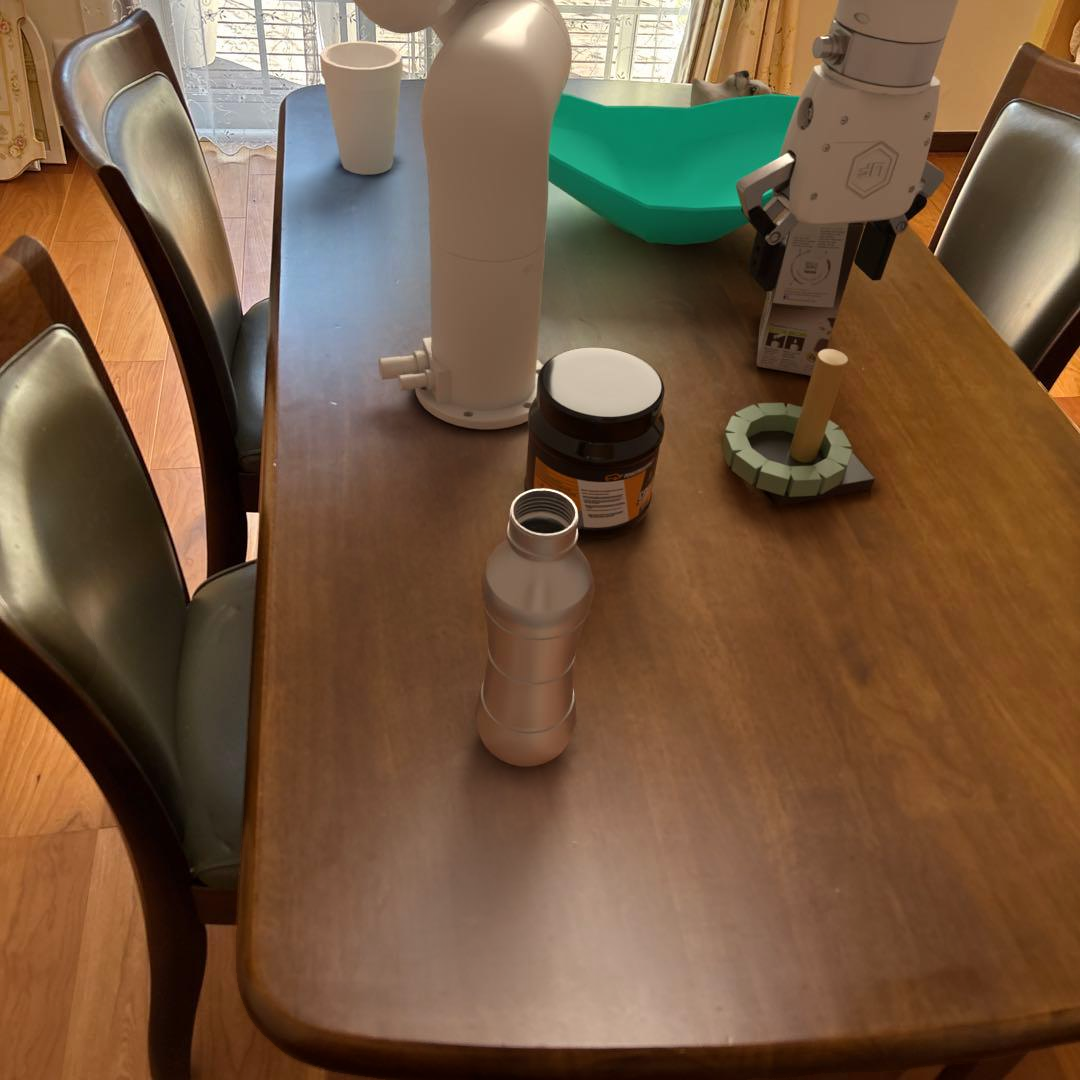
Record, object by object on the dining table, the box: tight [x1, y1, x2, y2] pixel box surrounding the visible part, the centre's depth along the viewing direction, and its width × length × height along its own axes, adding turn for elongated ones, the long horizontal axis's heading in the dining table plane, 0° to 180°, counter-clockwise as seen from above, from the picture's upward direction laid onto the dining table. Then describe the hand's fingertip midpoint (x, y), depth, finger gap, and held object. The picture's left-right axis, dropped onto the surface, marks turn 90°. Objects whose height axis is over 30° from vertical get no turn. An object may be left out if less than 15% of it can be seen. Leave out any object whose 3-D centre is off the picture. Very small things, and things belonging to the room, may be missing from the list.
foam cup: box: [319, 40, 404, 176], centre depth 124 cm, size 10×9×13 cm
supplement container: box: [523, 346, 666, 540], centre depth 80 cm, size 10×10×12 cm
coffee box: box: [756, 209, 866, 377], centre depth 98 cm, size 9×6×16 cm
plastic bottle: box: [475, 489, 595, 768], centre depth 60 cm, size 6×7×20 cm
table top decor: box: [548, 92, 801, 246], centre depth 116 cm, size 40×28×13 cm
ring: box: [721, 402, 853, 497], centre depth 88 cm, size 11×11×2 cm
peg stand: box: [747, 348, 875, 507], centre depth 86 cm, size 9×9×11 cm
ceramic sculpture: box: [689, 69, 773, 107], centre depth 140 cm, size 11×9×15 cm
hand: (814, 277), depth 82 cm, fingers open, 9 cm apart
